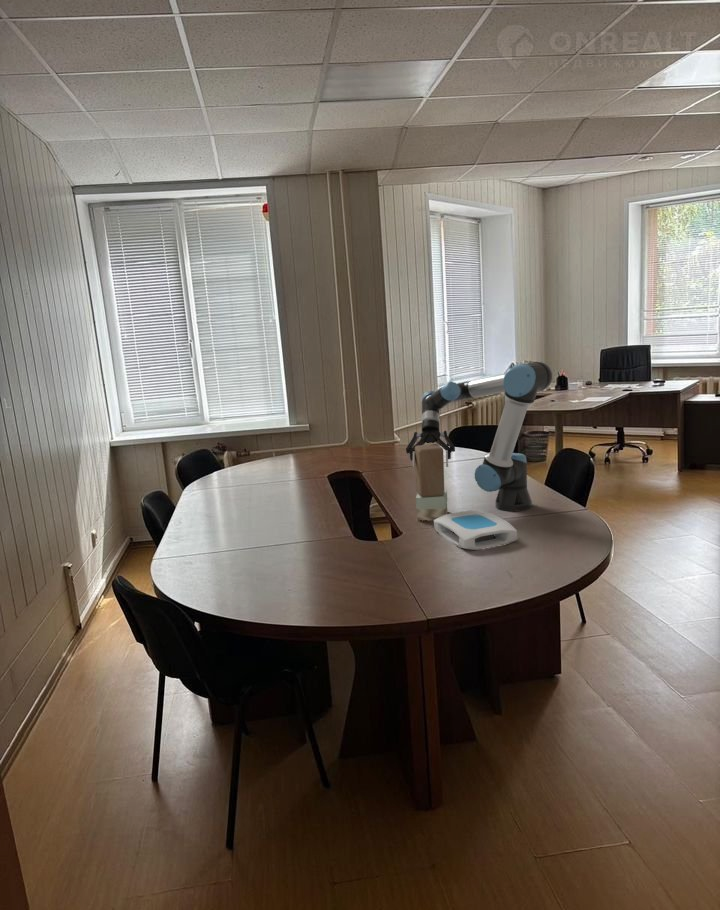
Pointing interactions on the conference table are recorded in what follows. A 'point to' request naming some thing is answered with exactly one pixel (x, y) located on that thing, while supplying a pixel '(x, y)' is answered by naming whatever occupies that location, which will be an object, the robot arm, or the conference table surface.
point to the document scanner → (474, 529)
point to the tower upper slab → (432, 501)
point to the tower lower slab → (430, 513)
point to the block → (429, 470)
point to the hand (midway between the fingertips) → (430, 465)
